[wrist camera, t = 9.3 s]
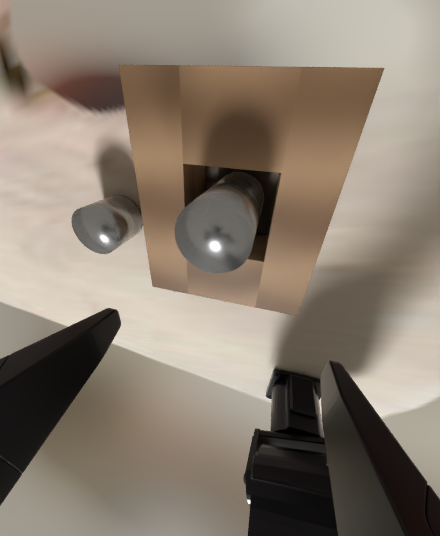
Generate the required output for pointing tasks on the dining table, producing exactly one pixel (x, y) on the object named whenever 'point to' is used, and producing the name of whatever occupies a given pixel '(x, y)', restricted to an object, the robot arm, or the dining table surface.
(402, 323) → the dining table surface
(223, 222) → the tall pin
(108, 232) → the short pin
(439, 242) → the dining table surface
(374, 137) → the dining table surface
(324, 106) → the hole block
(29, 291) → the dining table surface
